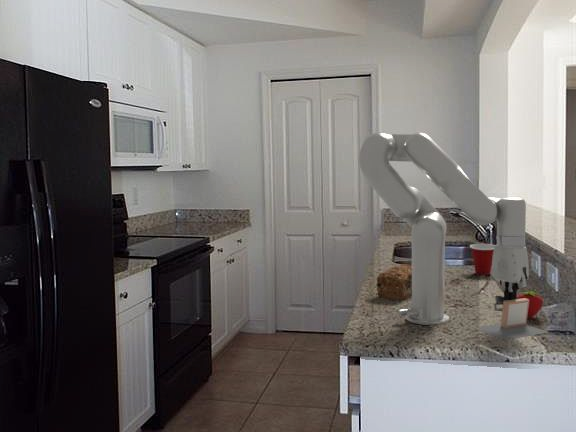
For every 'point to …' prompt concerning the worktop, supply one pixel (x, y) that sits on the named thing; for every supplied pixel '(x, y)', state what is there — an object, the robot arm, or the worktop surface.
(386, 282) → the bread
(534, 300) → the strawberry
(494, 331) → the mat
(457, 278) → the worktop surface
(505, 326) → the tile
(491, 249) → the plastic cup
